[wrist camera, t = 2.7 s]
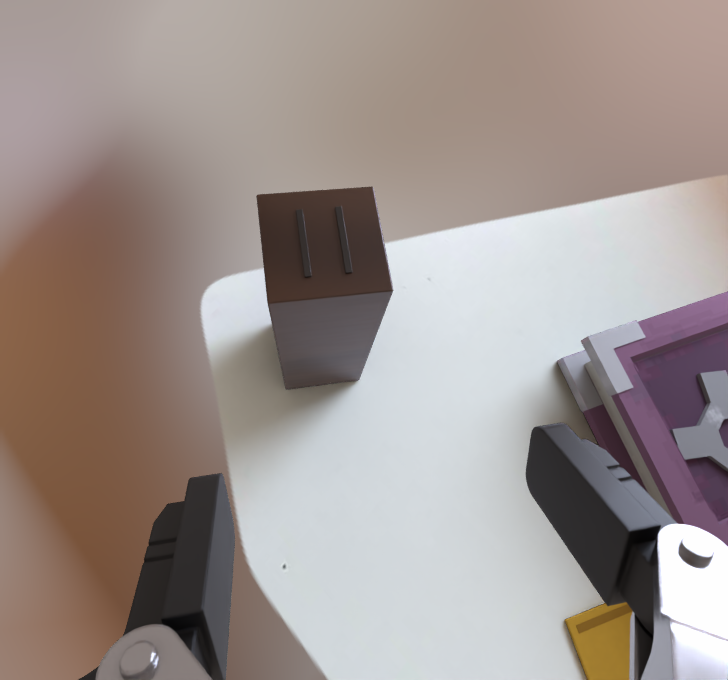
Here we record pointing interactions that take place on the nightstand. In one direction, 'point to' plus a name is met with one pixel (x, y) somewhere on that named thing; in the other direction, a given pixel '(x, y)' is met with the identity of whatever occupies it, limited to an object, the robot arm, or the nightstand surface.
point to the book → (664, 406)
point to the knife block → (324, 281)
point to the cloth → (603, 641)
